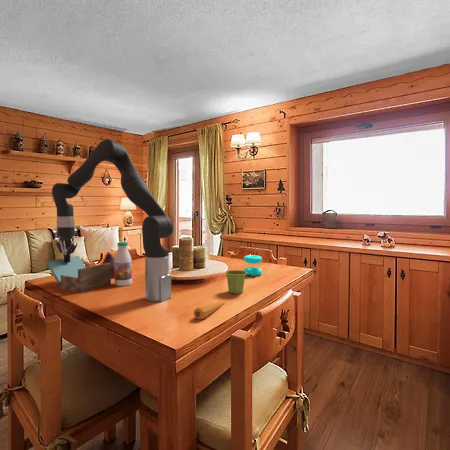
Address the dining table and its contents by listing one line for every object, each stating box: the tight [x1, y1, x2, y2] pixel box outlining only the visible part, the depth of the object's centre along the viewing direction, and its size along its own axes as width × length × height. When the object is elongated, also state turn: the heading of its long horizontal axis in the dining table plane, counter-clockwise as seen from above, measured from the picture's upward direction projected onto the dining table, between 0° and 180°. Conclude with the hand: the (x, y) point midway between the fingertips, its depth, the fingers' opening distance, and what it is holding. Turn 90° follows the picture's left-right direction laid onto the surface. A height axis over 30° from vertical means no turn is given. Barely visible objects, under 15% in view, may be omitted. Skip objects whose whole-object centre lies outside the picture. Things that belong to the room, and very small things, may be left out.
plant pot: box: [224, 269, 247, 295], centre depth 131 cm, size 9×9×9 cm
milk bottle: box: [114, 241, 133, 287], centre depth 142 cm, size 8×8×20 cm
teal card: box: [45, 255, 87, 284], centre depth 144 cm, size 2×16×12 cm
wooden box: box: [57, 263, 112, 294], centre depth 139 cm, size 15×16×10 cm
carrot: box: [193, 302, 225, 320], centre depth 108 cm, size 20×4×4 cm, turn 153°
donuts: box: [243, 254, 263, 277], centre depth 164 cm, size 10×10×10 cm
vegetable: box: [102, 251, 115, 280], centre depth 156 cm, size 10×10×15 cm
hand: (67, 262), depth 144 cm, fingers closed
